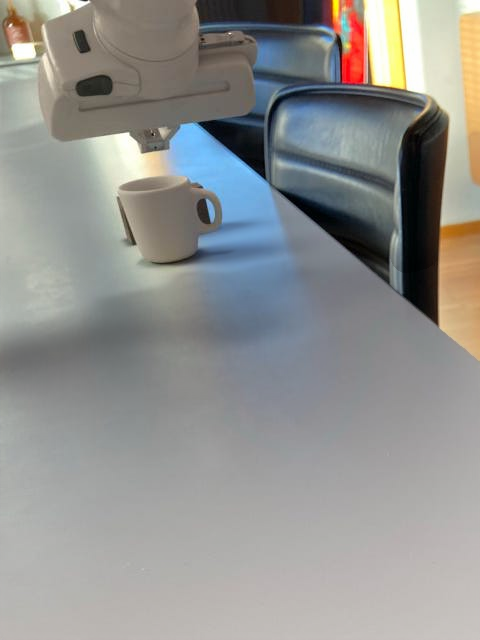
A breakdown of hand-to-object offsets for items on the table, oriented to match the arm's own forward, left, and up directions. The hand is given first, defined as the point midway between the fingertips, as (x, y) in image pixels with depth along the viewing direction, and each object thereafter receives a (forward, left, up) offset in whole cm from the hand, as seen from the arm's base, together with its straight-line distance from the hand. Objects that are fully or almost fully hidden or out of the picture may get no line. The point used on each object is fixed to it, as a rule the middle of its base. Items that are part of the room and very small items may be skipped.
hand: (152, 146), depth 105 cm
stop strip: (-5, +17, -13) cm, 22 cm away
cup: (-1, +6, -13) cm, 14 cm away
